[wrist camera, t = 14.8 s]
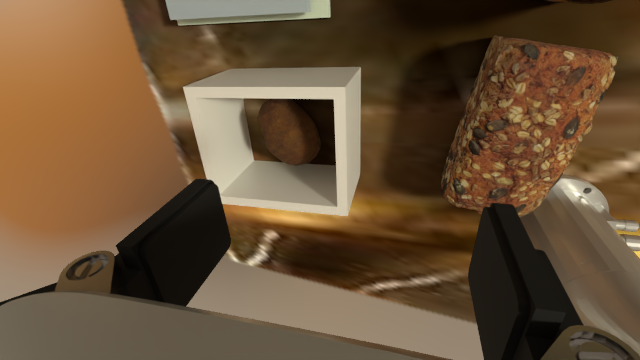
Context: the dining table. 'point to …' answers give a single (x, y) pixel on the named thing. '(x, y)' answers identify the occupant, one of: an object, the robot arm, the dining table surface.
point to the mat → (267, 15)
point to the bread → (523, 122)
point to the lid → (233, 8)
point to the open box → (265, 176)
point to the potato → (289, 131)
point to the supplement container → (578, 1)
